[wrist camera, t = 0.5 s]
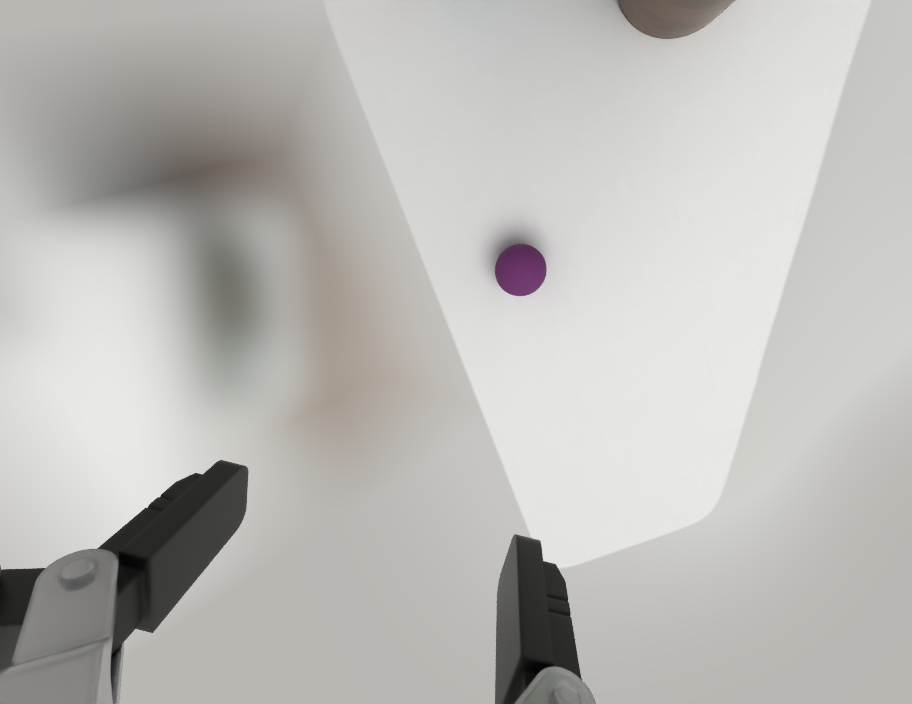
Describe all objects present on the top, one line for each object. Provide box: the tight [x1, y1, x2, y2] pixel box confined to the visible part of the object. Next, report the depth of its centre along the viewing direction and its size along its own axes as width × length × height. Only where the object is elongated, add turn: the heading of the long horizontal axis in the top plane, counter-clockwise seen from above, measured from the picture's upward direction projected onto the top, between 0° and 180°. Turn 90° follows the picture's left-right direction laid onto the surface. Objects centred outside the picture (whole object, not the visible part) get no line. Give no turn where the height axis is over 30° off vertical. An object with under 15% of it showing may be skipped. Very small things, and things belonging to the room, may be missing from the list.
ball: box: [495, 244, 546, 296], centre depth 34 cm, size 4×4×4 cm
